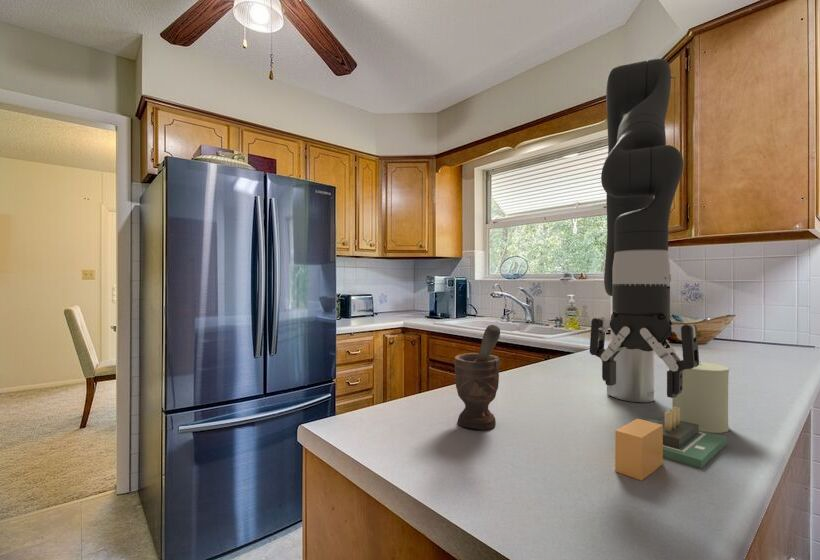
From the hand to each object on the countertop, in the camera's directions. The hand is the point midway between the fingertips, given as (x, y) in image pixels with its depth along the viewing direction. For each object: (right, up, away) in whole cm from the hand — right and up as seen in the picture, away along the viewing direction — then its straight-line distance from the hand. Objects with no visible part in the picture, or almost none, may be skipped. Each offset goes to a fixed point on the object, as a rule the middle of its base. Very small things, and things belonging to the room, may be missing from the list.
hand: (640, 390), depth 61 cm
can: (+22, -12, +19) cm, 31 cm away
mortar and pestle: (-20, -12, +17) cm, 29 cm away
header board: (+11, -12, +9) cm, 18 cm away
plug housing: (0, -12, 0) cm, 12 cm away
